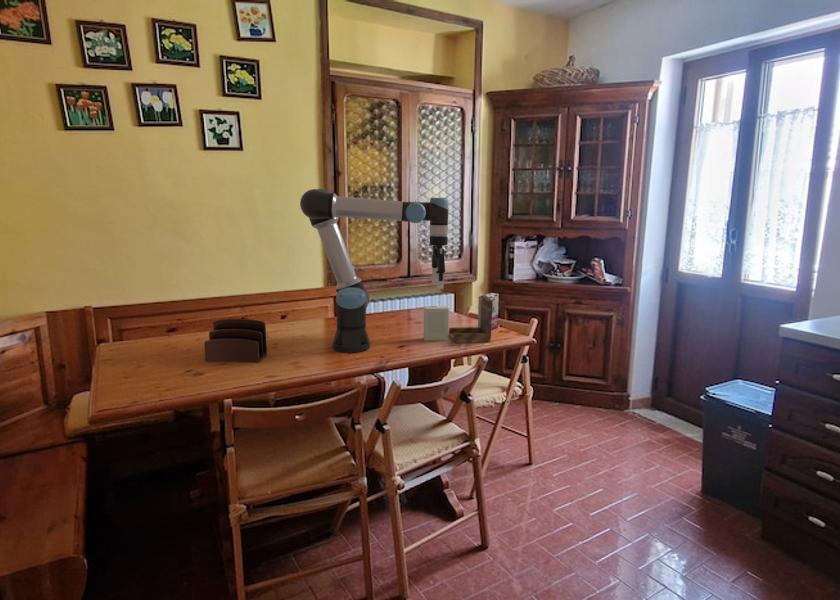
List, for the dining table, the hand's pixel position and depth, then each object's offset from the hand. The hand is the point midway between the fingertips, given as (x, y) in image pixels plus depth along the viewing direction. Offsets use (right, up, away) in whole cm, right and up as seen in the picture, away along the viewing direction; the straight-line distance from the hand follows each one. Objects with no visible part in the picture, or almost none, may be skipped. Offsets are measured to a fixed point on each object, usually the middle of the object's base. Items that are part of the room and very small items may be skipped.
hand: (437, 285), depth 215 cm
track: (+14, -23, +7) cm, 28 cm away
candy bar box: (+24, -20, +23) cm, 39 cm away
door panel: (-1, -23, +5) cm, 23 cm away
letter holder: (-76, -28, -25) cm, 85 cm away
